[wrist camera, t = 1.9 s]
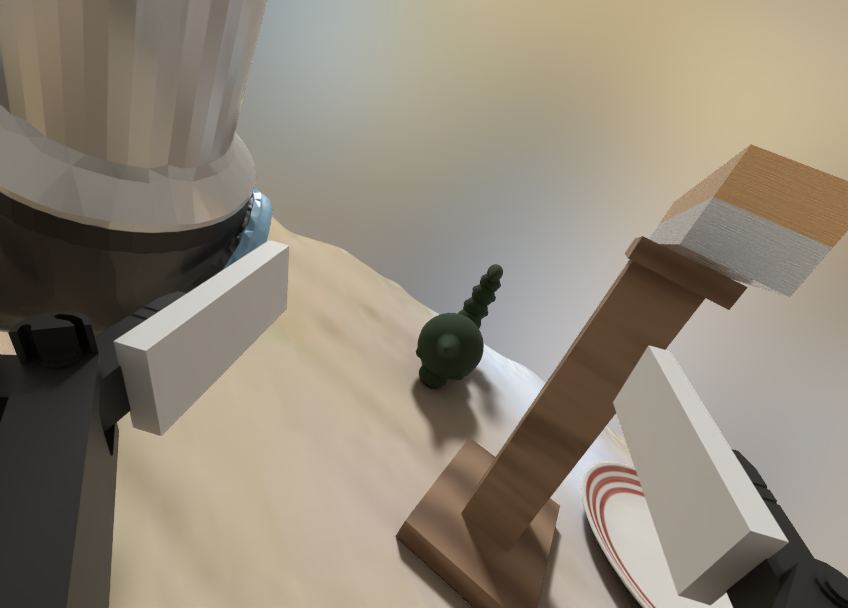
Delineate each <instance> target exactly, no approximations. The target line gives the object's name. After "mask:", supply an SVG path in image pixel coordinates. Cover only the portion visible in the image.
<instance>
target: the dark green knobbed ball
mask: <svg viewBox="0 0 848 608" xmlns="http://www.w3.org/2000/svg"><path fill="white" fill-rule="evenodd" d="M502 275H503V269H502V267H501V266H499V265H497V264H495V265H492V266H490V267H489V269H488V271H487V274H485V275H483V276H482V277H481V280H480V284H479V285H477V286H474V287H473V292H472V297H471V298H469V299H468V300H466V301H465V302H464V307H463V310H461V311H460V312H459V313H458V314H456V313H446V314H441V315H438V316H436V317H434V318H432V319H431V320H430V321H428V322H427V323H426V324H425V326H424V327H423V329H422V330H421V333H420V336H419V339H418V348H417V350H416V355H417V356H418V357H419V358H420V359H421V361H422V362H423V364H424V365H422V366H421V368H420V370H419V377H420V379H421V380H422V381H423V382H424V383H425V384H427V385H429V386H430V387H433V388H436V389H438V388H442V387H443V386H444V385H445V384H446V382H447V379H456V380H461V379H463V377H464V376H466V375H468V374H469V373H470V372H472V371H473V370H474V369H475V368H476V366H477V365H478V364H479V362H480V360H481V358H482V354H483V347H484V344H483V338H482V335H481V332H480V330H479V328H480V326H481V319H482V318H484V317H485V316H487V315H488V311H487V309H488V308H487V305H489V304H490V303H491V302H494V301H495V298H496V297H495V294H494V292H495V291H497V289H498V288H499V287H500V286H501V284H500V281H499V279H500V278H501V277H502Z"/></svg>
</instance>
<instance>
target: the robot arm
mask: <svg viewBox="0 0 848 608" xmlns="http://www.w3.org/2000/svg"><path fill="white" fill-rule="evenodd" d="M266 3H267V0H0V331H2V332H8V333H9V336H10V338H11V341H12V344H13V346H14V349H15V351H16V354H17V355H1V354H0V608H109V592H110V575H111V558H112V541H113V524H114V507H115V490H116V472H117V455H118V438H119V429H118V425H117V422H118V421H119V420H120V419H121V418H122V417H123V416H124V415H126V414H127V413H128V412H129V411H130V415H131V420H132V424H133V428H137V429H140V430H143V431H146V432H150V433H153V434H156V435H159V436H162V435H163V434H164V433H165V432H166V431H167V430H168V429H169V428H170V427H171V426H172V425H173V424H174V423H175V422H176V421H177V420H178V419H179V418H180V417H181V416H182V415H183V414H184V413H185V412H186V411H187V410H188V409H189V408H190V407H191V406H192V404H193V403H194V402H195V401H196V400H197V399H198V398H199V397H200V396H201V395H202V394H203V393H204V392H205V391H206V390H207V389H208V388H209V387H210V386H211V385H212V384H213V383H214V382H215V381H216V380H217V379H218V378H219V377H220V376H221V375H222V374H223V373H224V372H225V371H226V370H227V369H228V368H229V367H230V366H231V365H232V364H233V363H234V362H235V361H236V360H237V359H238V358H239V357H240V356H241V355H242V354H243V353H244V352H245V351H246V350H247V349H248V348H249V347H250V346H251V345H252V344H253V343H254V342H255V341H256V340H257V339H258V338H259V336H260V335H261V334H262V333H263V332H264V331H265V330H266V329H267V328H268V327H269V326H270V325H271V324H272V323H273V322H274V321H275V320H276V319H277V318H278V317H279V316H280V315H281V314H282V313H283V312H284V311H285V310H286V309H287V285H288V262H289V245H285V244H282V243H278V242H274V241H271V240H269V241H267V238H268V234H269V230H270V225H271V217H272V205H271V202H270V200H269V199H268V198H267V197H266V196H265V195H263V194H262V193H260V192H259V191H258V190H257V189H256V188H254V185H255V180H256V173H255V166H254V162H253V159H252V157H251V155H250V152H249V150H248V149H247V147H246V146H245V144H244V143H243V141H242V140H241V139H240V137H239V136H238V135H237V134H236V132H235V130H236V125H237V121H238V117H239V113H240V109H241V105H242V101H243V96H244V93H245V89H246V84H247V80H248V76H249V72H250V68H251V64H252V60H253V55H254V51H255V48H256V44H257V39H258V35H259V31H260V27H261V23H262V19H263V15H264V11H265V7H266ZM613 404H614V407H615V410H616V413H617V416H618V419H619V422H620V425H621V428H622V431H623V434H624V437H625V440H626V443H627V446H628V449H629V452H630V455H631V458H632V461H633V463H634V466H635V469H636V472H637V475H638V478H639V481H640V484H641V487H642V490H643V493H644V496H645V499H646V502H647V505H648V508H649V511H650V514H651V517H652V520H653V523H654V526H655V529H656V532H657V535H658V537H659V540H660V543H661V546H662V549H663V552H664V555H665V558H666V561H667V564H668V567H669V570H670V573H671V576H672V579H673V582H674V585H675V588H676V591H677V594H678V596H681V597H684V598H688V599H691V600H694V601H697V602H701V603H704V604H707V605H710V606H711V605H712V604H713V603H714V602H716V601H717V600H718V599H719V598H721V597H722V596H723V595H724V594H725V593H727V595H728V597H729V599H730V602H731V604H732V606H733V608H848V578H847V577H846V576H844V575H843V574H842V573H841V572H839V571H838V570H836V569H835V568H833V567H831V566H830V565H828V564H827V563H824V562H822V561H819V560H817V559H814V557H813V556H812V554H811V553H810V551H809V550H808V548H807V546H806V545H805V543H804V542H803V540H802V539H801V537H800V536H799V534H798V533H797V531H796V530H795V528H794V527H793V525H792V523H791V522H790V521H789V519H788V517H787V516H786V514H785V513H784V511H783V510H782V508H781V507H780V505H778V504H777V503H776V502H777V500H776V499H775V498H774V496H773V494H772V493H771V491H770V490H768V489H767V485H766V484H765V482H764V481H763V479H762V478H761V476H760V474H759V473H758V471H757V470H756V469H755V467H754V466H753V465H752V464H751V463H750V462H748V460H747V459H746V458H745V457H744V456H742V455H741V453H740V452H739V451H736V450H732V449H731V448H730V446H729V445H728V443H727V441H726V440H725V438H724V437H723V435H722V433H721V432H720V430H719V429H718V427H717V425H716V424H715V422H714V421H713V419H712V417H711V416H710V414H709V412H708V411H707V409H706V408H705V406H704V404H703V403H702V401H701V400H700V398H699V397H698V395H697V393H696V391H695V390H694V388H693V387H692V385H691V383H690V382H689V380H688V379H687V377H686V376H685V374H684V372H683V371H682V369H681V367H680V366H679V364H678V363H677V361H676V359H675V358H674V356H673V354H672V353H671V352H670V351H667V350H664V349H660V348H656V347H653V346H648V347H647V349H646V350H645V352H644V354H643V355H642V357H641V358H640V360H639V362H638V363H637V365H636V366H635V368H634V370H633V371H632V373H631V374H630V376H629V378H628V379H627V381H626V382H625V384H624V386H623V387H622V389H621V390H620V392H619V394H618V395H617V397H616V398H615V400H614V402H613Z"/></svg>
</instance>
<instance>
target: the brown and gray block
mask: <svg viewBox="0 0 848 608" xmlns="http://www.w3.org/2000/svg"><path fill="white" fill-rule="evenodd" d="M847 230H848V181H846V180H843V179H840V178H838V177H835V176H833V175H830V174H827V173H825V172H822V171H819V170H817V169H814V168H811V167H809V166H806V165H803V164H801V163H798V162H796V161H793V160H790V159H788V158H785V157H783V156H780V155H777V154H775V153H772V152H769V151H767V150H764V149H761V148H759V147H756V146H754V145H750V146H748V147H747V148H746V149H744V150H743V151H742V152H740V153H739V154H738V155H736V156H735V157H734V158H732V159H731V160H730V161H728V162H727V163H726V164H724V165H723V166H722V167H720V168H719V169H718V170H716V171H715V172H714V173H712V174H711V175H710V176H708V177H707V178H706V179H704V180H703V181H702V182H701V183H699V184H698V185H696V186H695V187H694V188H692V189H691V190H690V191H688V192H687V193H686V194H684V195H683V196H682V197H680V198H679V199H678V200H676V201H675V202H674V203H673V205H672V206H671V208H670V209H669V211H668V212H667V213H666V215H665V217H664V218H663V219H662V221H661V222H660V224H659V225H658V227H657V228H656V230H655V231H654V232H653V234H652V235H651V237H650V238H649V240H652V241H654V242H656V243H658V244H660V245H662V246H664V247H666V248H668V249H670V250H672V251H674V252H676V253H678V254H680V255H682V256H684V257H686V258H689V259H691V260H693V261H695V262H697V263H699V264H701V265H703V266H705V267H707V268H709V269H711V270H713V271H715V272H717V273H719V274H721V275H723V276H725V277H728V278H730V279H733V280H736V281H740V282H743V283H746V284H749V285H752V286H755V287H759V288H762V289H765V290H768V291H771V292H775V293H778V294H781V295H784V296H787V297H791V295H792V294H793V293H794V292H795V291H796V290H797V289H798V287H799V286H800V285H801V284H802V283H803V282H804V280H805V279H806V278H807V277H808V276H809V274H810V273H811V272H812V271H813V270H814V269H815V268H816V266H817V265H818V264H819V263H820V262H821V261H822V260H823V258H824V257H825V256H826V255H827V254H828V253H829V251H830V250H831V249H832V248H833V247H834V245H835V244H836V243H837V242H838V241H839V240H840V239H841V237H842V236H843V235H844V234H845V233H846V231H847Z"/></svg>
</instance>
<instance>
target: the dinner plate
mask: <svg viewBox="0 0 848 608" xmlns="http://www.w3.org/2000/svg"><path fill="white" fill-rule="evenodd" d="M581 490H582V501H583V506H584V509H585V512H586V515H587V518H588V521H589V524H590V526H591V528H592V531H593V533H594V535H595V537H596V539H597V541H598V543H599V545H600V547H601V549H602V550H603V552H604V554H605V555H606V557H607V559H608V561H609V562H610V564H611V565H612V567H613V568H614V570H615V571H616V573H617V574H618V576H619V577H620V579H621V580H622V582H623V583H624V585H625V586H626V587H627V588H628V590H629V591H630V592H631V594H632V595H633V596H634V598H635V599H636V600H637V601H638V603H639V604H640V605H641V606H642V607H643V608H733V606H732V604H731V602H730V599H729V597H728V595H727V593H725V594H724V595H723V596H722V597H721V598H719V599H718V600H717V601H716V602H714V603H713V604H712V605H711V606H710V605H707V604H704V603H701V602H697V601H694V600H691V599H688V598H684V597H681V596H678V594H677V591H676V588H675V585H674V582H673V579H672V576H671V573H670V570H669V567H668V564H667V561H666V558H665V555H664V552H663V549H662V546H661V543H660V540H659V537H658V535H657V532H656V529H655V526H654V523H653V520H652V517H651V514H650V511H649V508H648V505H647V502H646V499H645V496H644V493H643V490H642V487H641V484H640V481H639V478H638V475H637V472H636V469H635V467H633V466H630V465H627V464H623V463H619V462H612V461H604V462H599V463H596V464H594V465H592V466H591V467H590V468H589V469H588V470H587V471H586V473H585V474H584V477H583V480H582V488H581Z"/></svg>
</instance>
